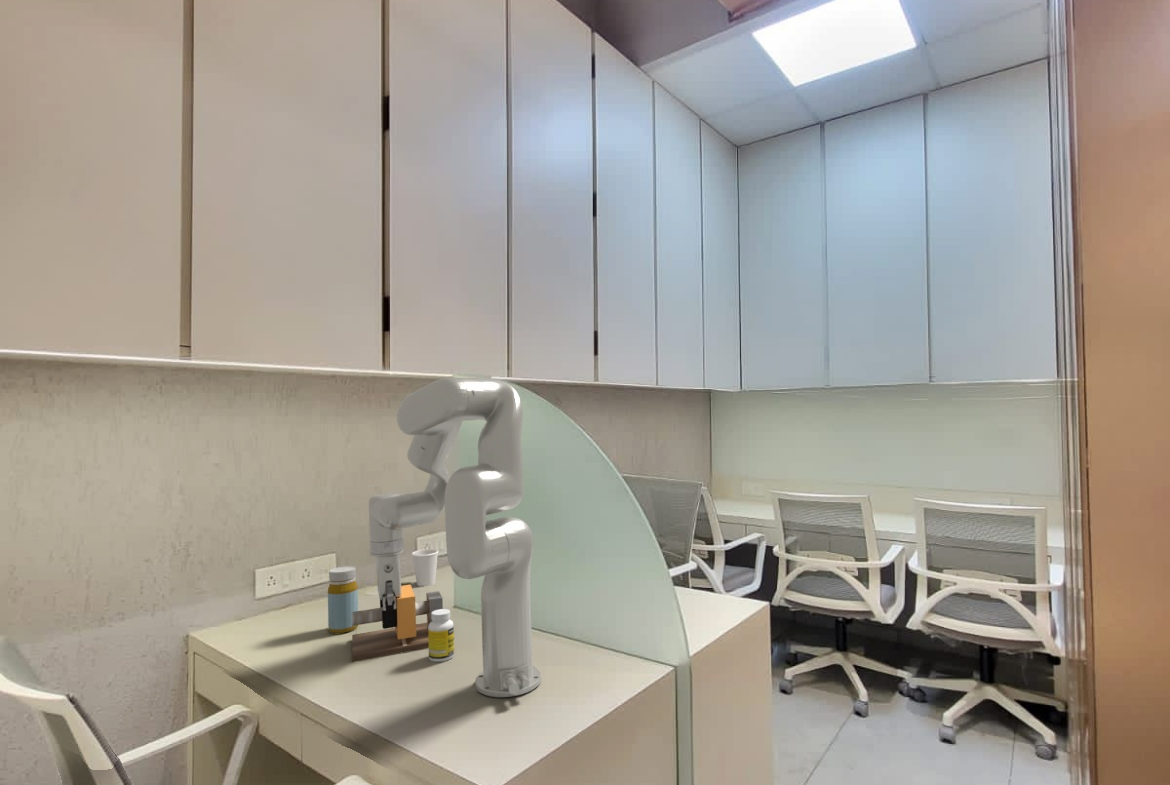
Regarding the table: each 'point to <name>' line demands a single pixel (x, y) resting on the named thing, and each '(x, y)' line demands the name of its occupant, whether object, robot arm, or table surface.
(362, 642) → the pipe stand
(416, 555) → the dixie cup
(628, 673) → the table surface
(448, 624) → the supplement bottle
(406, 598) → the collar
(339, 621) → the bottle
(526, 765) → the table surface
